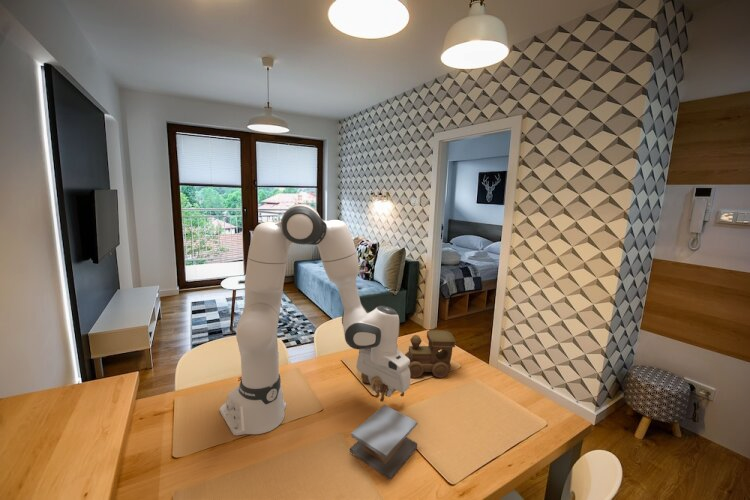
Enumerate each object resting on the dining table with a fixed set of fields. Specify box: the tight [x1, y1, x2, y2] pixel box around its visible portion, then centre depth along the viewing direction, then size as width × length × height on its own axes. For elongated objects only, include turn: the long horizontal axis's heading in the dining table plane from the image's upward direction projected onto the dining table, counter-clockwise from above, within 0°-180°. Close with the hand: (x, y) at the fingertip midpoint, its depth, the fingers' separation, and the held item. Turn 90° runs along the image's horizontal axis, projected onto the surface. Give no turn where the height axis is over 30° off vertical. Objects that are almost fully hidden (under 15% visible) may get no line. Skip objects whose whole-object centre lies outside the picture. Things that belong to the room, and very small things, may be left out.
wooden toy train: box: [404, 329, 456, 379], centre depth 135 cm, size 20×11×17 cm, turn 93°
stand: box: [349, 404, 418, 481], centre depth 93 cm, size 14×16×8 cm
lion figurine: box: [370, 376, 405, 403], centre depth 110 cm, size 15×5×9 cm, turn 125°
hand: (380, 392), depth 109 cm, fingers closed on lion figurine, 5 cm apart
